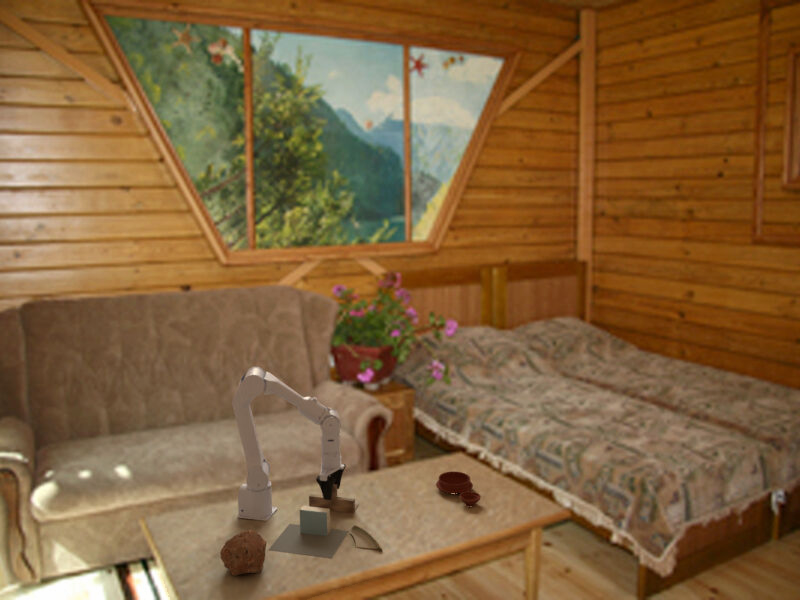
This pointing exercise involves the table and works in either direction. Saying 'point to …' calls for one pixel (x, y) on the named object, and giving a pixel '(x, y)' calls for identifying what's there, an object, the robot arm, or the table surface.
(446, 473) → the pottery
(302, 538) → the charcoal mat
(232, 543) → the decorative rock
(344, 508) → the walnut scraper
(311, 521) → the light tan wooden block
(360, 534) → the ceramic fragment
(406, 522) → the table surface
